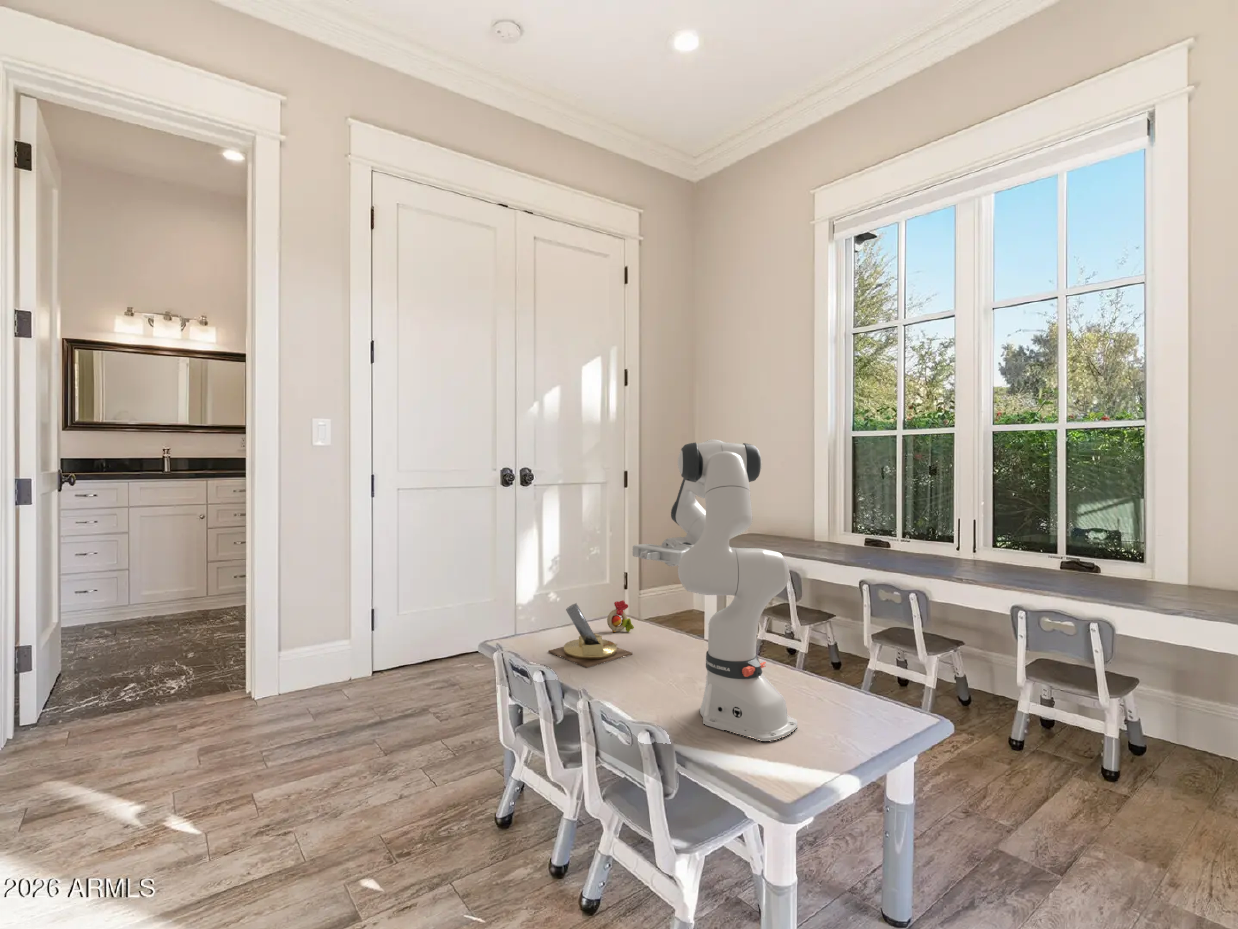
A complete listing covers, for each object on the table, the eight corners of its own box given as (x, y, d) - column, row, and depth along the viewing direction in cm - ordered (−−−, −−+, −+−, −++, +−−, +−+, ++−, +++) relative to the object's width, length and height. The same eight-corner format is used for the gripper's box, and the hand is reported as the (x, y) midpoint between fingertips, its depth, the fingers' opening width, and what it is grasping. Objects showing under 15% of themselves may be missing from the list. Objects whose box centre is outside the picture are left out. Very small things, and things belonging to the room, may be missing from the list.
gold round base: (620, 659, 182) (620, 644, 182) (565, 661, 180) (565, 645, 180) (613, 642, 198) (613, 628, 198) (562, 643, 196) (562, 629, 196)
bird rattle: (618, 641, 209) (640, 627, 213) (607, 612, 207) (629, 598, 211) (609, 636, 215) (630, 623, 219) (598, 608, 212) (620, 595, 216)
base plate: (632, 654, 189) (632, 651, 189) (586, 667, 177) (586, 665, 177) (593, 640, 202) (593, 638, 202) (548, 652, 190) (548, 649, 190)
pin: (601, 645, 183) (577, 604, 182) (591, 652, 182) (567, 611, 181) (597, 643, 186) (575, 602, 185) (587, 649, 185) (564, 609, 184)
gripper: (650, 538, 205) (619, 541, 196) (698, 545, 191) (668, 549, 181) (650, 557, 206) (619, 562, 196) (698, 566, 191) (668, 571, 181)
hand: (643, 556), depth 188 cm, fingers closed
